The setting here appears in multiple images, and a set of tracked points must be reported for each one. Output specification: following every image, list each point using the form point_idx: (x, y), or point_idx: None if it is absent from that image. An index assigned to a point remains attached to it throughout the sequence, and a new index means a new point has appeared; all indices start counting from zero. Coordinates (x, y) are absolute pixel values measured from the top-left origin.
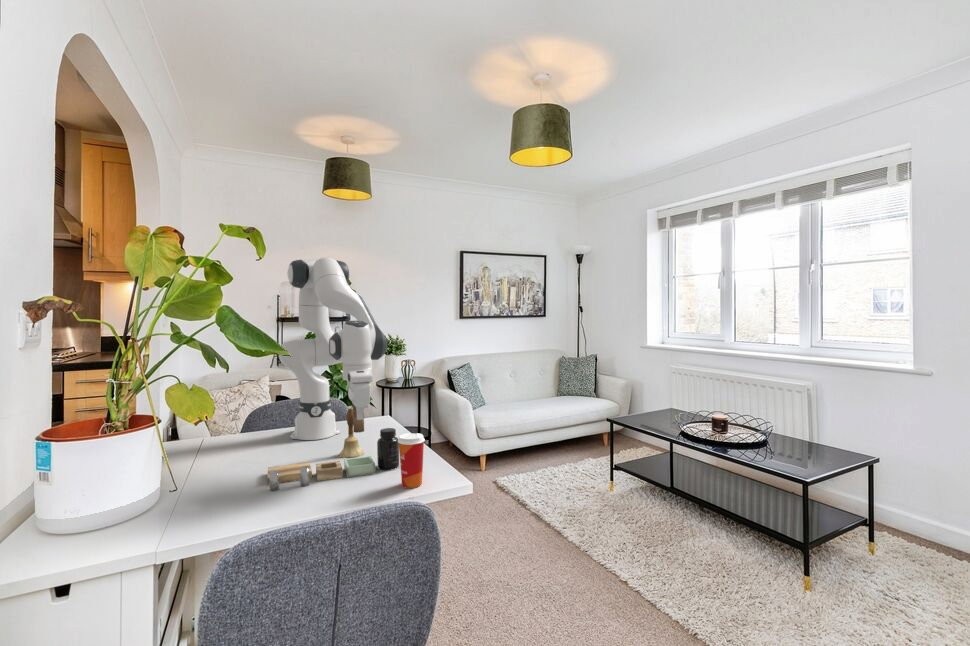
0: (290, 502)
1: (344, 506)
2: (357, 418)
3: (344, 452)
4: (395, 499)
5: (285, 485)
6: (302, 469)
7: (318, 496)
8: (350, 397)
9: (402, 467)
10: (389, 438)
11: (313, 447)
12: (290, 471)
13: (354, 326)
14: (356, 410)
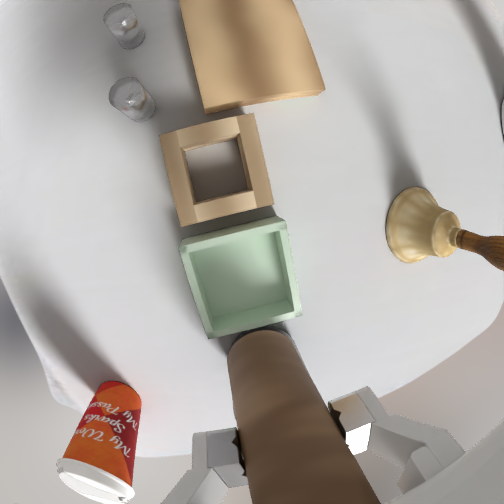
0: (35, 119)
1: (7, 260)
2: (192, 441)
3: (408, 206)
4: (46, 359)
5: (157, 54)
6: (111, 90)
7: (51, 179)
8: (495, 470)
9: (85, 413)
10: None
11: (472, 119)
12: (224, 41)
13: None
14: (184, 500)
